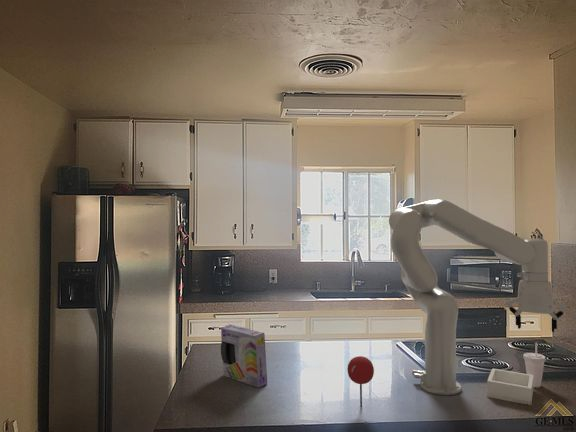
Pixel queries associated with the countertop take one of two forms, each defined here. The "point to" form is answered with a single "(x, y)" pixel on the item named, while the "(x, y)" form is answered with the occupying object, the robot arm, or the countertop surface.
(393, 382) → the countertop surface
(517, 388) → the box
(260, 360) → the cake pan box
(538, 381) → the smoothie
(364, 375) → the lollipop
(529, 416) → the countertop surface
